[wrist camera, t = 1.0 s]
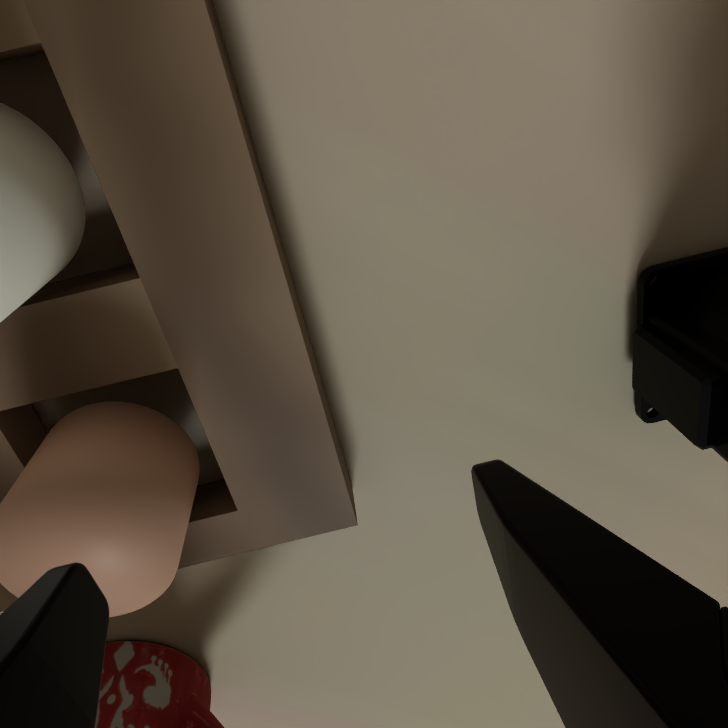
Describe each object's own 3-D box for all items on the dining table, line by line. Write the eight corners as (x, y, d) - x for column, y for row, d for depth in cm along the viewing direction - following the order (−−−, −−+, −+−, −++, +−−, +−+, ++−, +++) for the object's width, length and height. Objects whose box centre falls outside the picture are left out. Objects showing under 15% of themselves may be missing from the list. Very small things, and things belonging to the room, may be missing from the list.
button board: (11, -701, 10) (-49, -867, 8) (352, 490, 23) (357, 524, 21) (-757, -517, 10) (-981, -644, 8) (18, 571, 23) (-4, 612, 21)
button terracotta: (168, 385, 18) (137, 462, 14) (219, 503, 20) (204, 595, 17) (13, 422, 18) (-56, 508, 14) (83, 536, 20) (38, 634, 17)
